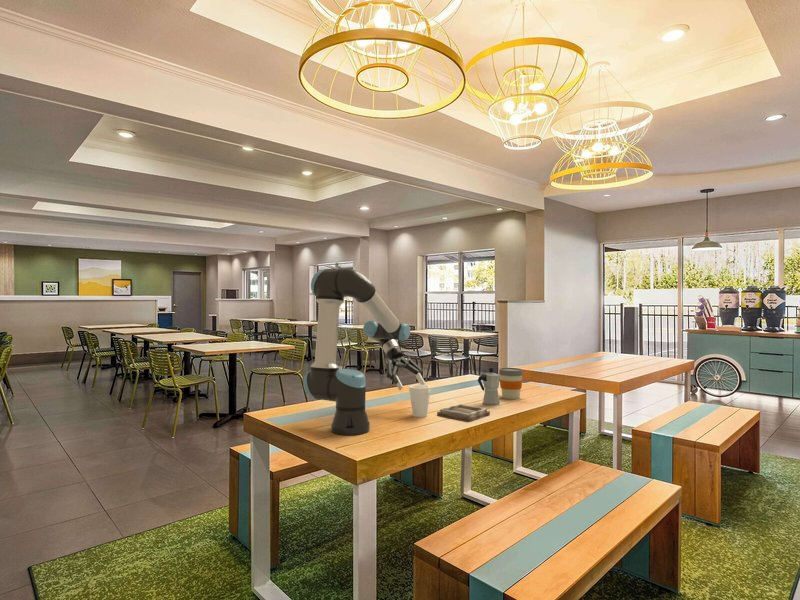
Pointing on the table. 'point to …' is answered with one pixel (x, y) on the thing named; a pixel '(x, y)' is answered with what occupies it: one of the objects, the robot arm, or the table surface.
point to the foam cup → (419, 399)
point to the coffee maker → (490, 387)
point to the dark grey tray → (463, 412)
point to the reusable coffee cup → (510, 382)
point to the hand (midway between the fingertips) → (412, 387)
